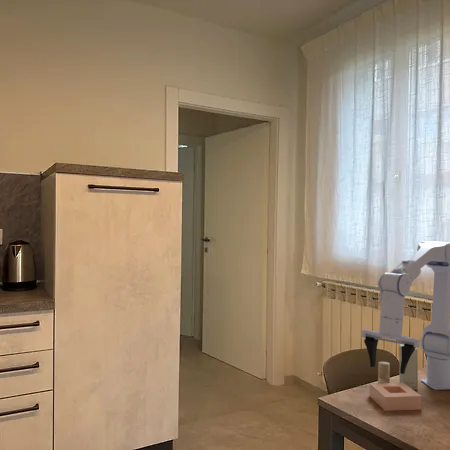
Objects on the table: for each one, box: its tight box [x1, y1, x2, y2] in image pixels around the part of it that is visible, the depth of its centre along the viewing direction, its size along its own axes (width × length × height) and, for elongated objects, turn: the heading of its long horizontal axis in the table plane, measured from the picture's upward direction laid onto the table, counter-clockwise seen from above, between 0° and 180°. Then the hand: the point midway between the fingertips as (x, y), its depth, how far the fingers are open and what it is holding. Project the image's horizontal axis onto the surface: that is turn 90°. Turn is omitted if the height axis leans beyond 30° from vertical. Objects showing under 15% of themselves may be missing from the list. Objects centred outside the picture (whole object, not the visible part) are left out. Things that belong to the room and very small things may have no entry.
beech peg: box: [377, 361, 391, 383], centre depth 132 cm, size 3×3×8 cm
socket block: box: [369, 382, 423, 412], centre depth 123 cm, size 10×10×4 cm
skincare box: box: [398, 344, 419, 391], centre depth 136 cm, size 6×4×12 cm
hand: (387, 369), depth 118 cm, fingers open, 7 cm apart
